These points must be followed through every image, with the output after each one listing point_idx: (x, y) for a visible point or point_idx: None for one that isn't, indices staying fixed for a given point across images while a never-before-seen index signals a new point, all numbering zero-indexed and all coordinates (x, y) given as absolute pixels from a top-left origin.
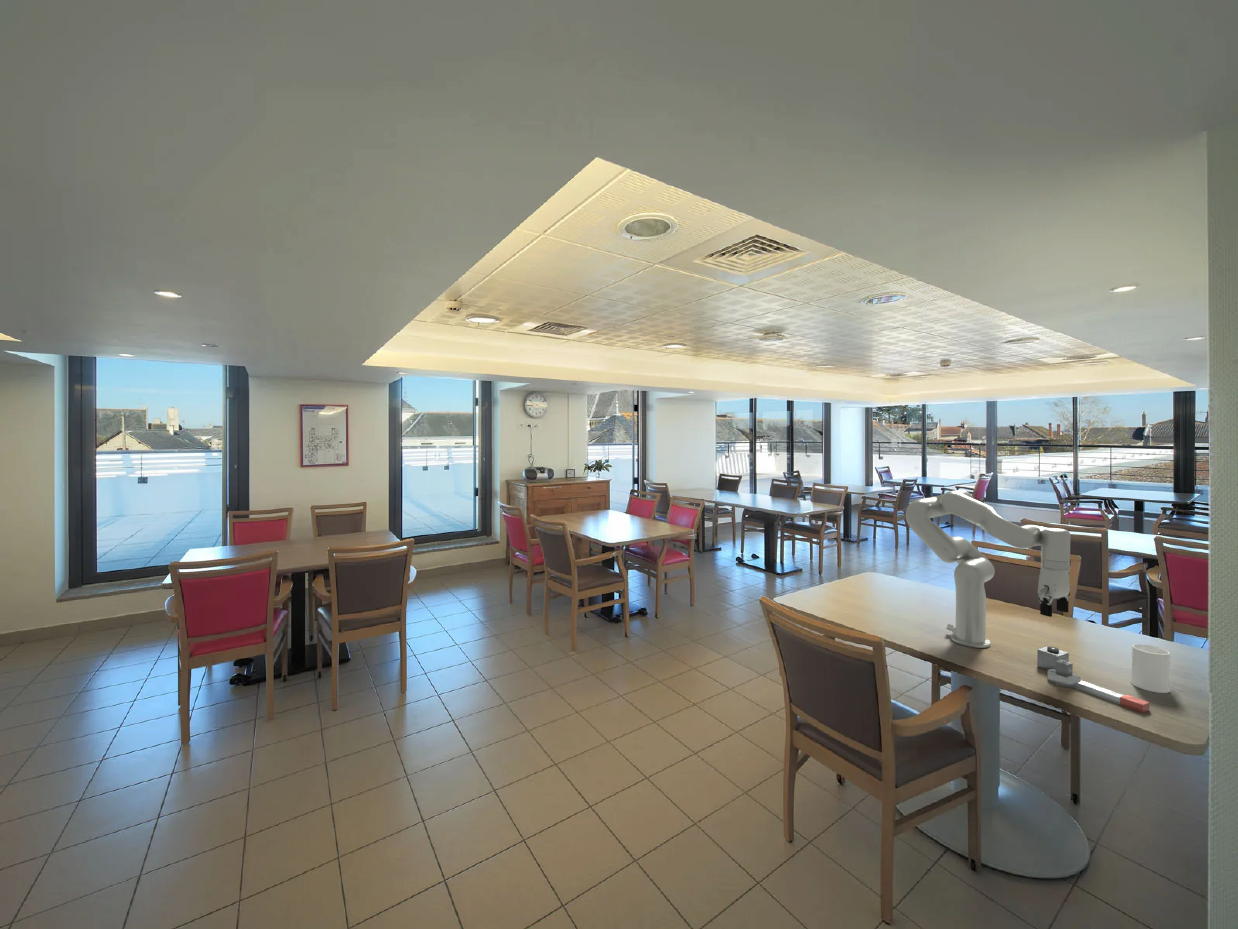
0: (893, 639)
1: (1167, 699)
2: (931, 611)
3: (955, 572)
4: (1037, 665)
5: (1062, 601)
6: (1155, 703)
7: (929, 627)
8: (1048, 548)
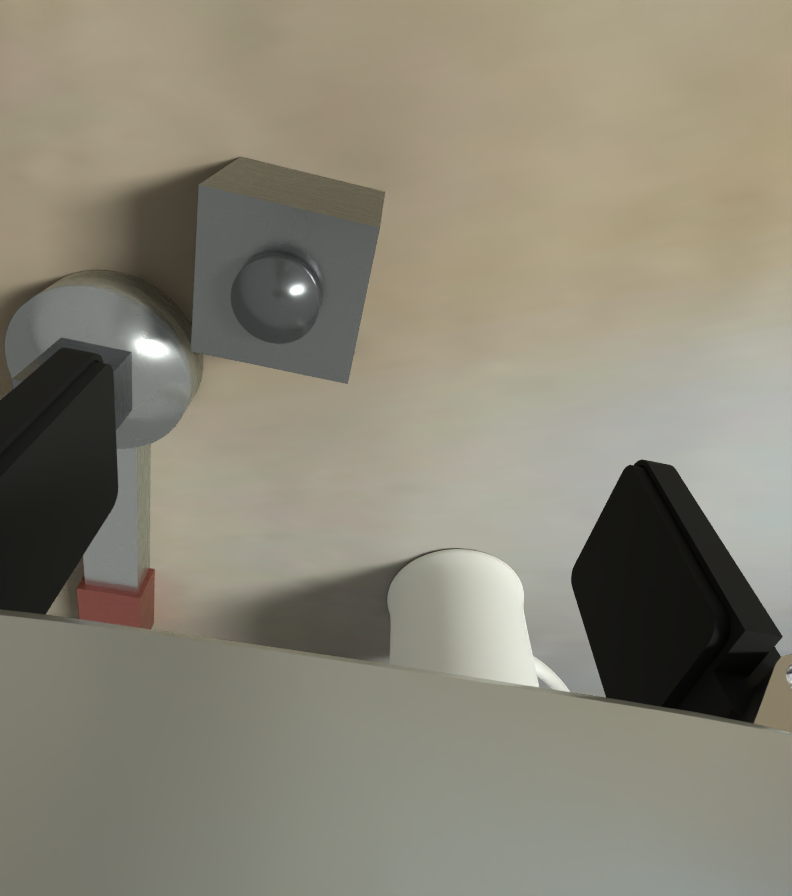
0: None
1: (350, 644)
2: None
3: None
4: (236, 160)
5: (653, 690)
6: (258, 626)
7: None
8: None
